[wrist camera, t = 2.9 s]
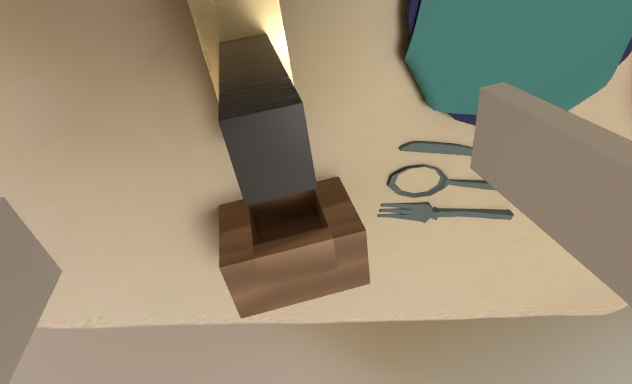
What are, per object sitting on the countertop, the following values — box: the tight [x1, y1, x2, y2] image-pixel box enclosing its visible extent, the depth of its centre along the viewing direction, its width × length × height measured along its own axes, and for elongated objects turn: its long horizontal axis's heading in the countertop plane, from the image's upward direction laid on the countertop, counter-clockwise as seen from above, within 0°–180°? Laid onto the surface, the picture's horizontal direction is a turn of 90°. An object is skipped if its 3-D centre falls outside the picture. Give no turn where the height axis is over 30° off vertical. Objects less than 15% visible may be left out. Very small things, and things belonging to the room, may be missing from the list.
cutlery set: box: [378, 0, 632, 223], centre depth 27 cm, size 20×30×2 cm, turn 170°
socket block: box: [219, 177, 370, 318], centre depth 29 cm, size 6×10×7 cm, turn 98°
